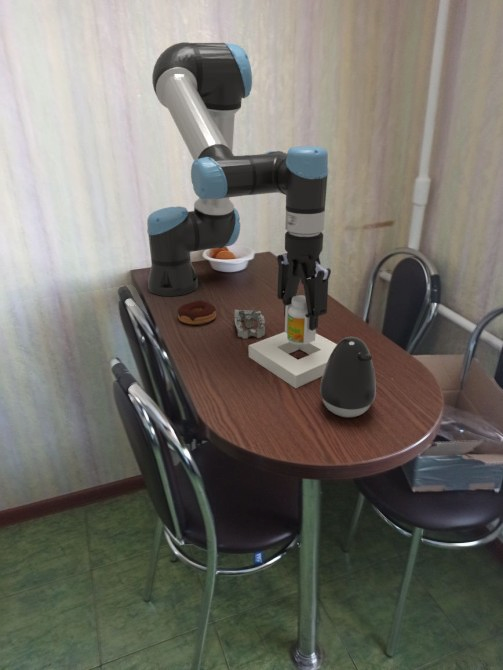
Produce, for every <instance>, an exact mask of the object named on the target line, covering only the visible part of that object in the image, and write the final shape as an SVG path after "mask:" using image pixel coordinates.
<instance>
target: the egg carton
mask: <svg viewBox="0 0 503 670" xmlns="http://www.w3.org/2000/svg"><path fill="white" fill-rule="evenodd" d="M254 321H256V322H257V327H256V328H255V329H254V327H253V326H255V322H254ZM265 321H266V320H265V316H264V315H263V314H262V312H261V310H257V311H254V309H251V310H248V309H246V310H245V309H243V310H241V309H234V325H235V327H236V331H237V337H238V338H242V339H249V337H256V338H257V339H261V338H262V337H263V336H265V335H266V322H265ZM242 322H244V327H246V328H247V330H245V329H244V328H243V325H242V324H243V323H242ZM251 327H252V328H251Z"/></svg>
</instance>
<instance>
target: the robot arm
mask: <svg viewBox="0 0 503 670" xmlns="http://www.w3.org/2000/svg"><path fill="white" fill-rule="evenodd" d="M250 63H251V62H250V60H249V56H248V54H247V53H246V50H245V49H244V48H243V47H241V45H239V44H235V43H226V42H178V43H174V44H173V45H170V46H169V47H167V48H166V49H165V50H164V51H163V52H162V53H160V55H159V56H158V58H157V59H156V61H155V64H154V66H153V70H152V71H153V72H152V76H151V78H152V86H153V91H154V93H155V96H156V97H157V100H158V101H159V103H160V104H161V105H162V106H163V107H165V108H166V109H167V110H168V112H169V113H170V116H171V118H172V119H173V122H174V123H175V126H176V128H177V130H178V132H179V134H180V135H181V137H182V140H183V141H184V144H185V146H186V148H187V150H188V152H189V153H190V155H191V157H192V159H193V161H192V164H191V170H190V178H191V183H192V188H193V191H194V193H195V195H196V196H197V200H195V201H194V203H193V207H194V208H193V210H191V211H188V209H187V208H186V207H184V206H180V205H179V206H178V205H177V206H167V207H164V208H161V209H157V210H154V211H152V213H150V214H149V215H148V217H147V221H146V225H147V229H146V230H147V235H148V242H149V251H150V260H151V265H150V266H151V267H150V270H149V275H148V280H147V286H148V287H147V288H148V291H149V292H150V293H152V294H154V295H156V296H163V297H176V296H183V295H187V294H190V293H192V292H194V291H195V290H197V289H198V287H199V280H198V279H199V278H198V276H197V274H196V270H195V268H194V266H193V263H192V259H191V258H192V257H191V253H192V252H201V251H206V250H213V249H223V248H226V247H231V246H232V245H234V244H235V243H237V241H238V239H239V236H240V231H241V222H240V214H239V212H238V211H239V210H237V208H235V205H234V202H232V201H231V200H230V198H236V197H242V196H253V195H264V194H273V193H280V194H282V195H285V224H284V225H285V230H286V233H285V234H284V251H285V252H286V253H281V254H279V255H277V256H276V259H277V265H278V269H277V270H278V272H277V275H278V277H277V299H278V300H281V301H282V303H283V316H284V317H285V318H284V320H285V321H284V332H285V333H287V330H288V310H289V308H290V307H291V306H292V298H293V297H294V296H297V293H298V290H299V285H300V282H301V284H302V285H303V289H304V290H303V291H304V296H305V298H306V305H307V311H308V314H306V315H305V322H304V343H305V344H307V343H310V342H312V341H315V335H316V334H317V332H316V331H317V329H318V328H319V318H320V317H322V316H324V315H326V314H327V313H328V298H329V297H328V296H329V280H330V276H331V274H332V273H331V268H324V267H323V266H322V265H321V260H320V254H322V251H323V247H324V233H323V231H324V230H325V212H326V202H327V201H326V199H327V198H326V197H327V185H328V174H329V167H328V161H329V160H328V157H329V156H328V155H329V154H328V151H327V149H325V148H324V147H322V146H313V145H302V146H301V145H299V146H297V145H296V146H291V147H290V148H289V149H288V150H287V153H286V152H283V151H282V150H281V151H280V150H276V151H275V150H270V151H266V152H264V153H260V154H246V155H244V154H243V155H234V153H233V148H234V147H233V146H234V133H235V131H234V130H235V116H236V115H235V114H237V112H239V111H240V109H241V108H242V99H246V98H248V97H249V96H250V93H251V92H252V88H253V87H252V86H253V74H252V67H251V64H250Z"/></svg>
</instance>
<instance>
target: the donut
mask: <svg viewBox="0 0 503 670" xmlns="http://www.w3.org/2000/svg"><path fill="white" fill-rule="evenodd" d="M177 314H178V315H177V318H178V319H179V321H181V322H182V323H183V324H187V325H194V326H195V325H203V324H208V323H210V322H212V321H213V320H214V319H216V317H217V312H216V307H215V306H214V305H213V304H211V303H209V302H208V301H203V300H196V301H190V302H187V303H184V304H183V305H181V306H179V307H178V310H177Z"/></svg>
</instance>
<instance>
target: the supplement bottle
mask: <svg viewBox="0 0 503 670" xmlns="http://www.w3.org/2000/svg"><path fill="white" fill-rule="evenodd" d="M306 314H308V311H307V305H306V298H305V294H304V295H296V296H294V297H293V298H292V306H291V307H290V308H289V310H288V330H287V339H288V341H289V342H291V343H293V344H297V345H304V344H305V343H304V322H305V315H306ZM307 344H308V343H307Z"/></svg>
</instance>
